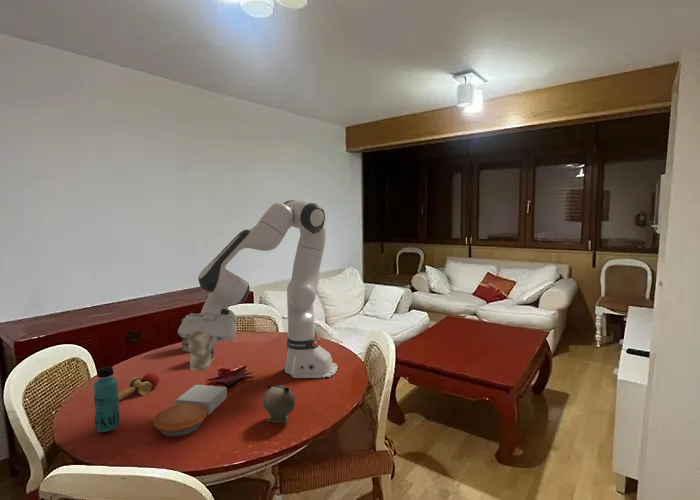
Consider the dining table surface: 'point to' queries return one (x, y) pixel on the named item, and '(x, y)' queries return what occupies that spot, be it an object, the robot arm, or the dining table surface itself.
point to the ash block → (199, 351)
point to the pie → (180, 419)
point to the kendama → (141, 385)
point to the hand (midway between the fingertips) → (199, 349)
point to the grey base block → (204, 396)
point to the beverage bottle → (106, 400)
